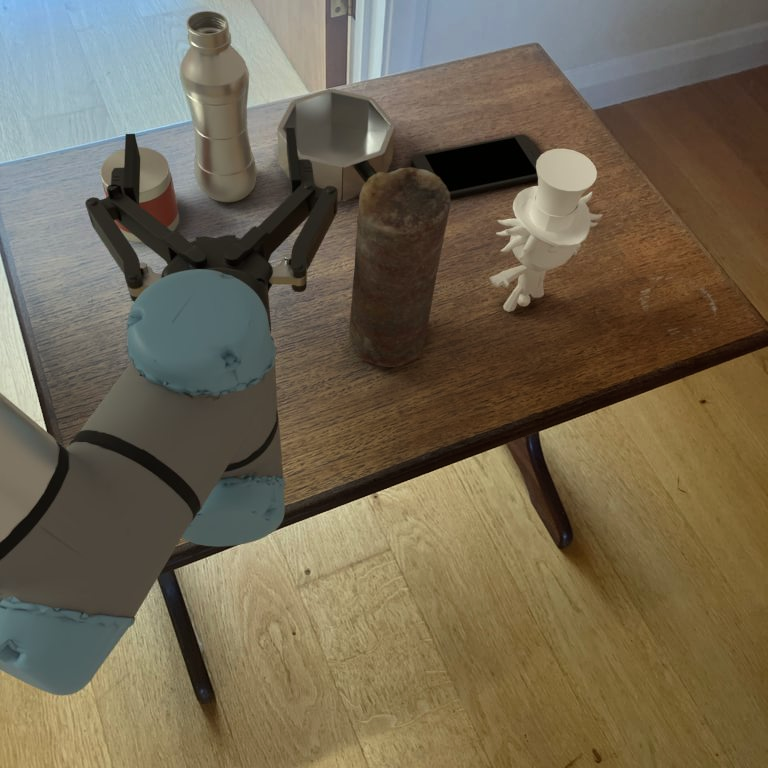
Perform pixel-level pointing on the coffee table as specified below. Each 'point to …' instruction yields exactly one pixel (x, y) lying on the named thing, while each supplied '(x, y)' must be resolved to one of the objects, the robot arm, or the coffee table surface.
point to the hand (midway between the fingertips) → (212, 142)
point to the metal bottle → (218, 109)
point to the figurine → (547, 222)
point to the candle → (396, 263)
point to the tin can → (148, 187)
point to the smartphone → (482, 164)
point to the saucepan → (339, 139)
